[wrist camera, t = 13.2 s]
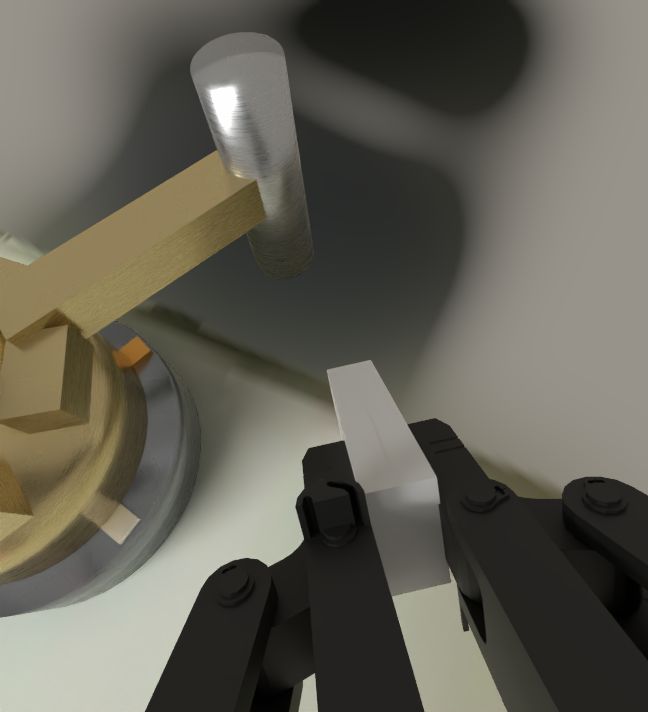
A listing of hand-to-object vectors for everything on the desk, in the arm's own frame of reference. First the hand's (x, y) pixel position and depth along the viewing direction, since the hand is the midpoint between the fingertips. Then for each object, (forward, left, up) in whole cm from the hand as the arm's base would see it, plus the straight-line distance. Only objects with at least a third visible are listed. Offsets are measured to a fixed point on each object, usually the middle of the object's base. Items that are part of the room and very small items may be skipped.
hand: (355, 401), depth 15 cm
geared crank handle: (-9, -3, -2) cm, 10 cm away
